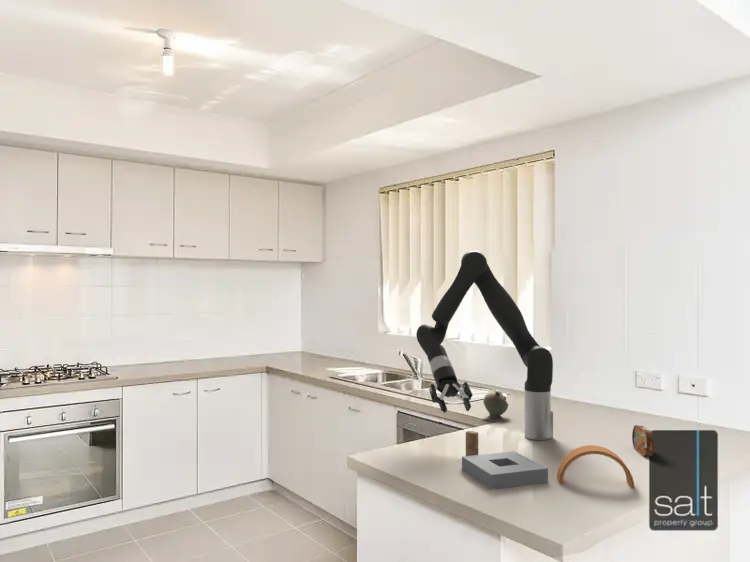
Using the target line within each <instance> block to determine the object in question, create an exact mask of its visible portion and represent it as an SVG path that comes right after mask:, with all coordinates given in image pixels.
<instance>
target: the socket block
mask: <svg viewBox="0 0 750 562" xmlns="http://www.w3.org/2000/svg"><path fill="white" fill-rule="evenodd" d="M461 470H462V471H463V472H465V473H466V474H468V475H469V476H471V477H472V478H474V479H475V480H477V481H478V482H479V483H481V484H482V485H484V486H485V487H487V488H489V489H490V490H499V489H507V488H513V487H515V488H516V487H522V486H529V485H531V486H532V485H537V484H538V485H539V484H545V483H549V468H548V467H546V466H544V465H543V464H540V463H538V462H536V461H534V460H532V459H530V458H528V457H527V456H524V455H523V454H520V453H518V452H516V451H515V450H512V451H502V452H501V451H500V452H493V453H485V454H483V453H482V454H481V453H480V454H478V455H472V456H466V455H463V456H461Z"/></svg>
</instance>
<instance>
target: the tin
mask: <svg viewBox="0 0 750 562" xmlns="http://www.w3.org/2000/svg"><path fill="white" fill-rule="evenodd" d="M631 434H632V435H631V438H632V439H631V440H632V447H633V449H634V450H635V451H636V452H637V454H639V455H640V456H641V457H652V456H653V454H654V450H655V436H654V433H653V432H652V431H651V430H649V429H648V428H647V427H646V426H644V425H637V424H635V425H634V426H633V428H632V432H631Z"/></svg>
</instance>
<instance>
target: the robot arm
mask: <svg viewBox="0 0 750 562" xmlns="http://www.w3.org/2000/svg"><path fill="white" fill-rule="evenodd" d="M460 264H461V265H460V267H459V269H458V272H457V275H456V276H455V278H454V279H453V280H454V281H452V284H451V285H450V287H449V288H448V289H447V291H446V292H445V293H444V294H443V296H442V298H440V301H439V302H438V303H437V305H436V307H435V309H433V312H432V314H431V318H432V320H433V321H434V322H435V325H434V326H432V325H429V324H421V325H420V326H419V327H418V328H417V330H416V334H415V335H416V341H417V342H418V344H419V346H420V347H421V349H422V350H423V352H424V353H425V355H426V356H427V360H428V362H429V366H430V370H431V374H432V376H433V379H434V382H435V384H434V383H431V384H430V386H429V388H428V391H429V394H430V396H431V397H430V398H431V401H432V403H438V405H439V407H440V411H442V413H447V411H448V407H447V405H446V401H445V399H444V398H445V397H446V398H449V397H452V398H457V399H459V400H461V401H462V403H463V405H464V408H465V411H467V412H469V411H470V410H471V407H472V405H471V402H470V401H471V400H472V398H473V392H472V390H471V388H470V386H469V384H468V382H467V381H464V382H463V383H460V382H459V381H458V377H457V375H456V372H455V370H454V367H453V364H452V362H451V361H450V358H449V356H448V353H447V350H446V349H445V347H444V346H443V345H442V343H443V342H444V341H445V337H446V334H447V331H448V327H449V324H450V322H451V320H452V319H453V317H454V315H455V314H456V312H457V310H458V309H459V306H460V305H461V303H462V301H463V299H464V298H465V296H466V295H467V294H468V292H469V290H470V289H471V287H472V286H473V284H475V285H476V287H477V288H478V290H479V292H480V293H481V296H482V297H483V301H484V302H485V304H486V305H487V308H488V309H489V311H490V313H491V314H492V316H493V318H494V319H495V321H496V322H497V323H498V325H499V326H500V327H501V329H502V331H504V333H505V335H506V336H507V337H508V339H510V341H511V343H512V344H513V346H514V347H515V349H516V350H517V353H518V355H519V357H520V359H521V360H522V363H523V365H524V366H525V367H526V368H527V370H526V375H527V376H526V380H525V382H524V437H525V438H526V439H529V440H533V441H547V440H550V439H554V412H553V411H552V409H551V408H552V405H551V403H552V402H551V401H552V399H551V396H552V394H551V391H552V390H551V388H552V387H551V386H552V383H553V378H554V377H553V376H554V375H553V373H554V360H553V355H552V353H551V351H550V350H548V349H547V348H545V347H543V346H541V345H540V344H539V343H538V342H537V340H536V339H535V338H534V337H533V336H532V334H531V333H530V331H529V329H528V326H527V324H526V321H525V318H524V316H523V314H522V312H521V310H520V308H519V306H518V305H517V304H516V302H515V300H514V299H513V298H512V296H511V295H510V294H509V293H508V291H507V290H506V289H505V287H503V285H502V284H501V283H500V282H499V281H498V279H497V278H496V277H495V275H494V274H493V271H492V269H491V268H490V266H489V264H488V261H487V257H486V256H485V255H484V254H483V253H482V252H480V251H478V250H469V251H467V252H465V253H464V254H463V256H462V257H461V260H460ZM437 391H438V392H439V393H440V396H438V395H437V394H438V393H437Z"/></svg>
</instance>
